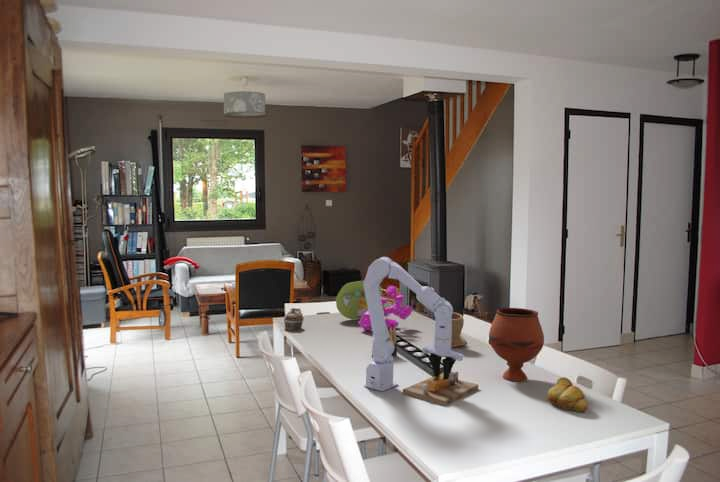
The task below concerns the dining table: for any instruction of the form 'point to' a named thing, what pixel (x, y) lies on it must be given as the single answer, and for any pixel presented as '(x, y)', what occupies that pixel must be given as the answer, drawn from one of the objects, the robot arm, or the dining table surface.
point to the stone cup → (457, 330)
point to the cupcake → (293, 320)
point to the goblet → (516, 339)
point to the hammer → (440, 382)
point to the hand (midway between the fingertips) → (441, 377)
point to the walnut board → (441, 391)
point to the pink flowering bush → (355, 306)
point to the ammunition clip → (393, 340)
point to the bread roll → (567, 396)
